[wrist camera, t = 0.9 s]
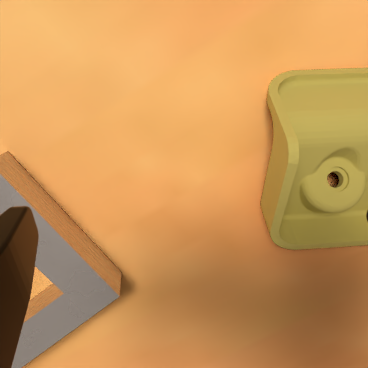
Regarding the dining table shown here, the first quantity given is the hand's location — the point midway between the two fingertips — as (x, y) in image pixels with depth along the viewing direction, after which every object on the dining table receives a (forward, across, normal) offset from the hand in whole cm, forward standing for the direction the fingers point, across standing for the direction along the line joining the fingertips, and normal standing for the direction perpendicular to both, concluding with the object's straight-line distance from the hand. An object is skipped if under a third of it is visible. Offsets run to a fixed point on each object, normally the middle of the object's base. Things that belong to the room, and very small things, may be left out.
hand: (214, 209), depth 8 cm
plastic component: (+13, -16, +7) cm, 22 cm away
